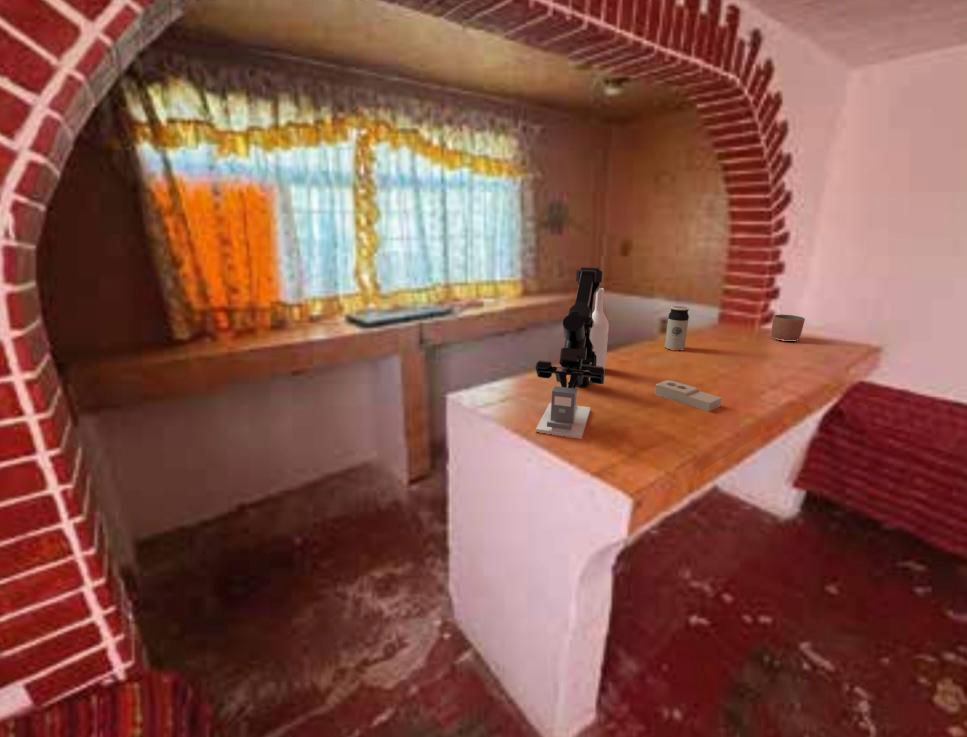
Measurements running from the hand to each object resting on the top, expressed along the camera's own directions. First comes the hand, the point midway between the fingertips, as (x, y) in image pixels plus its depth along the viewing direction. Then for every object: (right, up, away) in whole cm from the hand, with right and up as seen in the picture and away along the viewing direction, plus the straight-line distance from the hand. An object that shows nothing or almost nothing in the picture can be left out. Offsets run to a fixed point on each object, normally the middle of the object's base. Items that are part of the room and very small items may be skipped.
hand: (565, 399), depth 132 cm
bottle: (+19, +8, +48) cm, 53 cm away
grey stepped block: (+41, -2, +19) cm, 45 cm away
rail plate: (0, -6, +3) cm, 7 cm away
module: (-1, -5, -1) cm, 5 cm away
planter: (+118, +21, +94) cm, 152 cm away
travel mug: (+60, +17, +77) cm, 99 cm away
